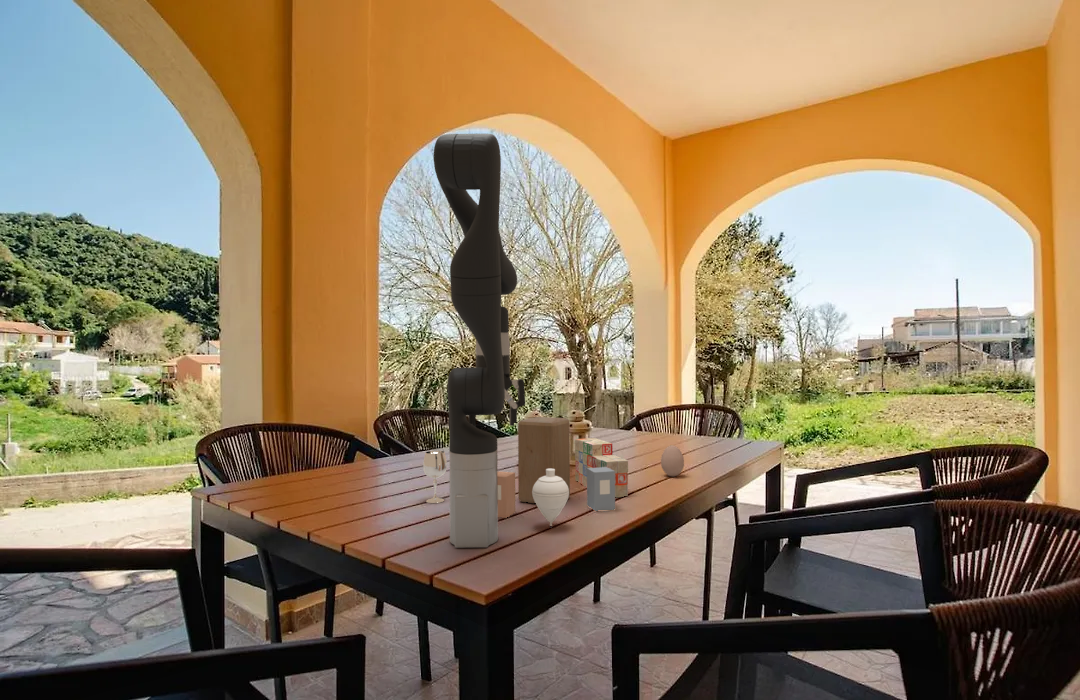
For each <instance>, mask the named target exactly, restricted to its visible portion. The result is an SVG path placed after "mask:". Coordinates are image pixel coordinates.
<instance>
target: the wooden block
mask: <svg viewBox="0 0 1080 700" xmlns="http://www.w3.org/2000/svg"><path fill="white" fill-rule="evenodd" d="M517 423H518V424H517V439H518V440H517V443H518V444H517V446H518V447H517V448H518V451H517V452H518V453H517V455H518V458H517V459H518V460H517V464H518V465H517V466H518V468H517V470H518V471H517V472H518V476H517V477H518V501H519V502H522V503H526V502H528V503H527V504H534V503H535V501H534V499H533V495H532V489H533V486H534V484H535V483H536V481H537V480H538V479H539V478H541V477H543V476H546V469H549V468H552V469H555V476H558V477H561V478H562V479H563V480H564V481H565V482H566V484H567V486H568V488H569V497H568V499H569V498H570V495H571V484H570V483H571V476H570V475H571V465H570V460H571V459H570V456H571V454H570V446H571V445H570V440H571V439H570V419H568V418H567V417H551V416H550V417H547V416H535V417H529V418H525V419H524V418H523V419H521V420H519V421H518V422H517Z"/></svg>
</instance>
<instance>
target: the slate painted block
mask: <svg viewBox="0 0 1080 700" xmlns="http://www.w3.org/2000/svg"><path fill="white" fill-rule="evenodd" d="M587 505H588V506H589V507H591V508H592V509H593V510H595V511H598V510H614V509H615V510H616V498H615V471H614V470H612V469H610V468H607V467H599V468H587V488H586V506H587Z"/></svg>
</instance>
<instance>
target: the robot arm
mask: <svg viewBox="0 0 1080 700" xmlns="http://www.w3.org/2000/svg"><path fill="white" fill-rule="evenodd" d="M501 157H502V156H501V149H500V143H499V140H498V138H497V137H496V136H495V135H494V134H492V133H447V134H441V135H440V136H438V137H437V139H436V141H435V143H434V147H433V157H432V158H433V165H434V166H433V167H434V171H435V176H436V178H437V181H438V183H439V186H440V188H441V190H442V192H443V195H444V196H445V198H446V200H447V202H448V205H449V206H450V208H451V211H452V213H453V215H454V217H455V219H456V221H457V222H458V224H459V226H460V228H461V231H462V233H463V235H464V237H463V239H462V241H461V242H460V244H459V245H458V247H457V249H456V251H455V252H454V255H453V257H452V259H451V261H450V267H449V278H450V280H449V281H450V298H451V303H452V305H453V307H454V309H455V311H456V313H457V314H458V315H459V317H460V319H461V320H462V321H463V323H464V324H465V326H466V327H467V328H468V329H469V331H470V332H471V334H472V336H473V337H474V339H475V349H474V350H475V367H455V368H454V367H453V369H451V371H450V372H449V374H448V378H447V405H448V426H449V428H448V430H449V431H448V432H449V434H448V435H449V439H448V440H449V441H448V442H449V467H448V468H449V470H448V471H449V542H450V543H451V544H452V545H453V546H454V548H456V549H457V548H488V547H490V546H491V545H492V544H495V543H496V542H497V541H498V540H499V517H498V479H497V471H498V437H497V436H496V435H495V434H494V433H493V432H488V431H485V430H483V429H480V428H478V427H476V426H477V425H476V423H477V422H476V420H477V418H476V416H493V415H494V416H495V415H499V414H501V412H502V411H503V409H504V407H505V402H507V404H508V405H509V406H510V407H509V410H508V411H509V412H508V413H509V420H508V421H509V425H510V427H513V426H515V424H517V423H518V422H517V420H518V419H517V418H518V416H517V415H518V409H519V408H521V407H524V406H525V405H526V392H525V381H524V379H522V378H517V379H511V371H510V370H511V369H510V367H511V356H510V355H511V352H510V351H511V350H510V348H511V347H510V346H511V345H510V344H511V343H510V334H509V330H510V329H509V324H510V323H509V322H510V321H509V319H510V318H509V317H510V316H509V310H508V308H507V307H506V306H502V296H506V295H510V294H512V293H514V291H515V289H516V288H517V285H518V275H517V272H516V269H515V267H514V265H513V263H512V261H511V260H510V259H509V257H508V255H507V253H505V250H504V248H503V247H504V246H503V243H502V236H501V233H500V222H499V221H500V203H501V202H500V198H501V197H500V196H501V177H502V176H501V170H502V166H501V165H502V164H501V163H502V158H501ZM470 190H471V191H472V190H473V191H474V190H476V191H477V190H479V198H478V203H477V201H475V200H474V199H473V197H472V196H471V195H470V193H469V192H468V191H470ZM511 386H514V389H516V390H517V400H516V401H515V400H514V399H513V397H512V396H511V395H510V393H509V392H508V391H509V390H510V388H511ZM467 416H468V419H467Z"/></svg>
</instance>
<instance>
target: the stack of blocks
mask: <svg viewBox="0 0 1080 700" xmlns="http://www.w3.org/2000/svg"><path fill="white" fill-rule="evenodd" d="M574 460H575V461H574V462H575V475H574V476H575V482H576V481H578V482H579V483H581V484H583V485H584V486H583V485H582V486H583V487H585V486H586V487H587V468H599V467H607V468H610V469H612V470H614V471H615V497H616V498H622V497H623V498H624V496H627V497H628V496H629V495H628V492H629V489H628V484H629V481H628V480H629V476H628V474H629V460H628V459H625V458H623V457H620V456H617V455H614V454H613V443H611V442H610V441H609V442H608V441H606V440H602V439H599V438H596V437H587V438H574ZM578 482H577V483H578ZM579 483H578V484H579ZM581 484H580V485H581ZM586 487H585V488H586Z"/></svg>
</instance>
